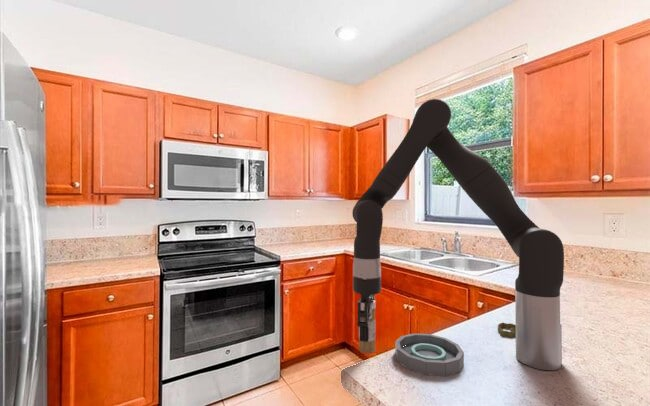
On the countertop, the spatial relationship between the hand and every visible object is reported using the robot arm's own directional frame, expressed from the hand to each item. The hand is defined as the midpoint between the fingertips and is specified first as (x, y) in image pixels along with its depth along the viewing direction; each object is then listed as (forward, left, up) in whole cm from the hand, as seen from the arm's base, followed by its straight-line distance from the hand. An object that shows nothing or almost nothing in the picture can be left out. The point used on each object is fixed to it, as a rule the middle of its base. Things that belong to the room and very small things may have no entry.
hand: (366, 334), depth 83 cm
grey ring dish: (-12, +10, -4) cm, 16 cm away
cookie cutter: (-51, +9, -5) cm, 52 cm away
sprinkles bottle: (0, 0, -4) cm, 5 cm away
